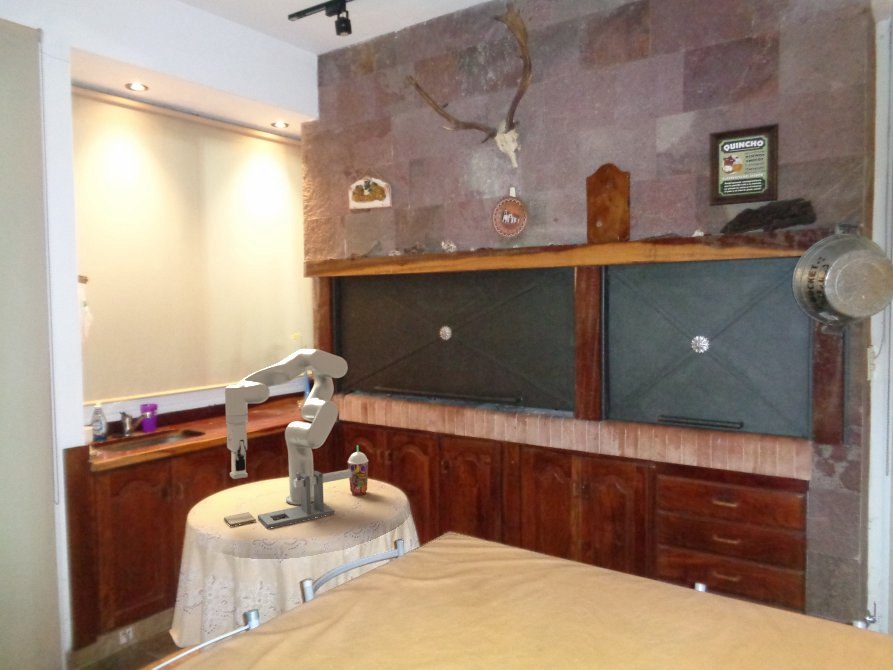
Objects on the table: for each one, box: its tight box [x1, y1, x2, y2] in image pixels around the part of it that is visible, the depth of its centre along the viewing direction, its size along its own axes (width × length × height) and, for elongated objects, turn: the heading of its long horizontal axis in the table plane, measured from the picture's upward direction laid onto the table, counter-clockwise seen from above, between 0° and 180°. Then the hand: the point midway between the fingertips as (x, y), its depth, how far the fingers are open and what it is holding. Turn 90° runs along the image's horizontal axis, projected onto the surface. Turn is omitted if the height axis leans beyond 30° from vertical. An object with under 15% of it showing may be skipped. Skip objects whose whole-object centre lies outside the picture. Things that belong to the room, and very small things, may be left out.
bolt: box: [294, 468, 352, 488], centre depth 243 cm, size 3×22×5 cm, turn 123°
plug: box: [229, 450, 249, 480], centre depth 234 cm, size 5×5×10 cm
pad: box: [223, 511, 257, 527], centre depth 236 cm, size 9×9×1 cm
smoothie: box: [347, 444, 369, 496], centre depth 264 cm, size 8×8×20 cm
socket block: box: [257, 470, 335, 529], centre depth 239 cm, size 12×25×15 cm, turn 123°
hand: (238, 468), depth 234 cm, fingers closed on plug, 4 cm apart
